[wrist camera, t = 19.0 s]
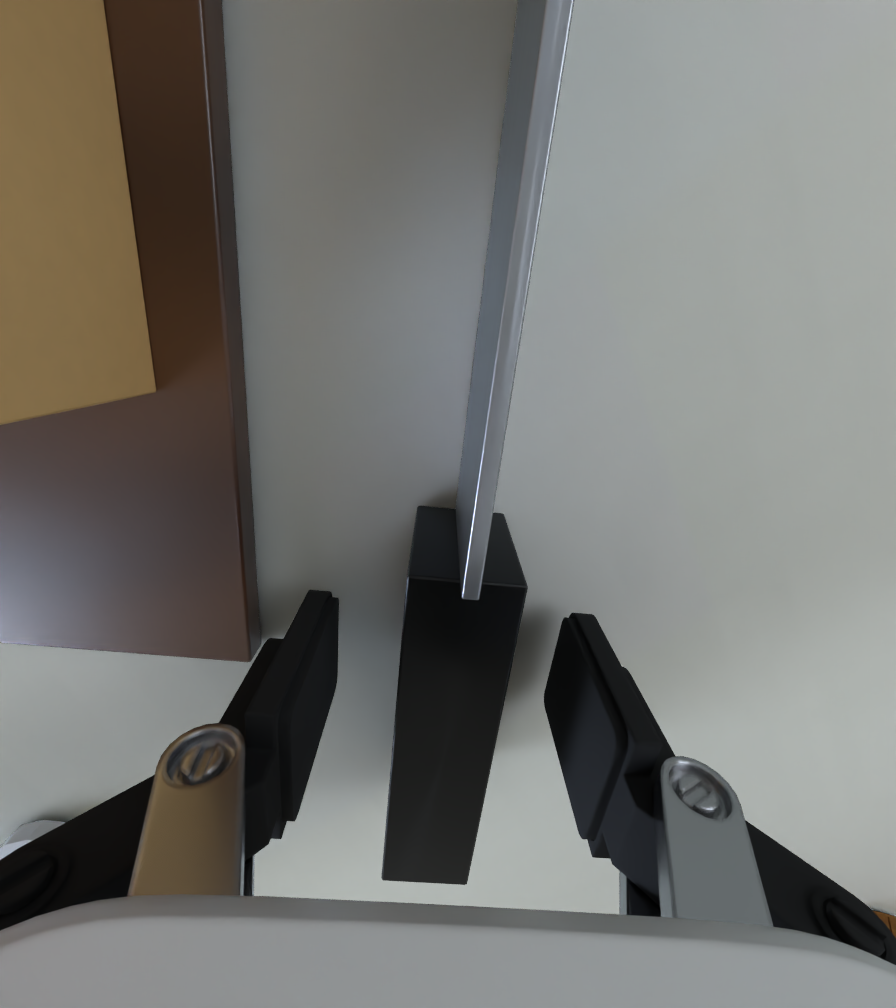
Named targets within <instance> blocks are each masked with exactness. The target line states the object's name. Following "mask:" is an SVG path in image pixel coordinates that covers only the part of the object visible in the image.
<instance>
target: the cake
mask: <svg viewBox="0 0 896 1008" xmlns="http://www.w3.org/2000/svg"><path fill="white" fill-rule="evenodd" d="M155 392H156V384H155V377H154V370H153V362H152V355H151V348H150V340H149V333H148V325H147V318H146V311H145V303H144V296H143V289H142V281H141V274H140V266H139V259H138V252H137V244H136V237H135V230H134V222H133V215H132V208H131V200H130V193H129V185H128V178H127V171H126V163H125V156H124V149H123V141H122V134H121V127H120V119H119V112H118V104H117V97H116V90H115V82H114V75H113V68H112V60H111V53H110V45H109V38H108V31H107V23H106V16H105V9H104V1H103V0H0V425H3V424H8V423H13V422H17V421H22V420H27V419H32V418H36V417H41V416H46V415H51V414H55V413H60V412H65V411H70V410H74V409H79V408H84V407H89V406H93V405H98V404H103V403H108V402H112V401H117V400H122V399H127V398H131V397H136V396H141V395H146V394H150V393H155Z"/></svg>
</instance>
